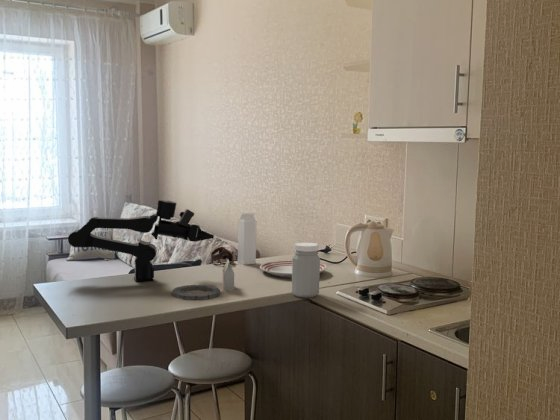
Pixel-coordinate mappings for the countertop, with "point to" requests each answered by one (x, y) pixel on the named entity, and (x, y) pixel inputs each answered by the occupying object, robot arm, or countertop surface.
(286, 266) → the dinner plate
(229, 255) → the pottery mug
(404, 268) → the countertop surface
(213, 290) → the ring
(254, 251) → the milk
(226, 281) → the tea bag
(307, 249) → the jar
